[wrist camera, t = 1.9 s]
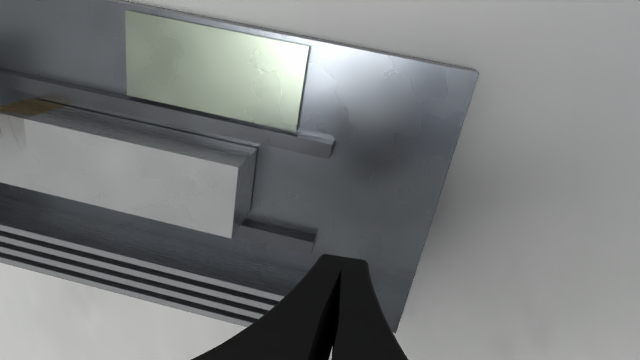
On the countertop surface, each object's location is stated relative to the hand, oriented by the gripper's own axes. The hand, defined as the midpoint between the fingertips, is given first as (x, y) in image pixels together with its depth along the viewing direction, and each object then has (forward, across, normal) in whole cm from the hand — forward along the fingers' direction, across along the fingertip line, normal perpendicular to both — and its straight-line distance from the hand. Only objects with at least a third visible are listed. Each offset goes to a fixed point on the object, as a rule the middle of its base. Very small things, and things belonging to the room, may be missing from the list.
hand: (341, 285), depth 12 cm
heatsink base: (+6, +9, -1) cm, 11 cm away
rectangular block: (+5, +9, -1) cm, 11 cm away
